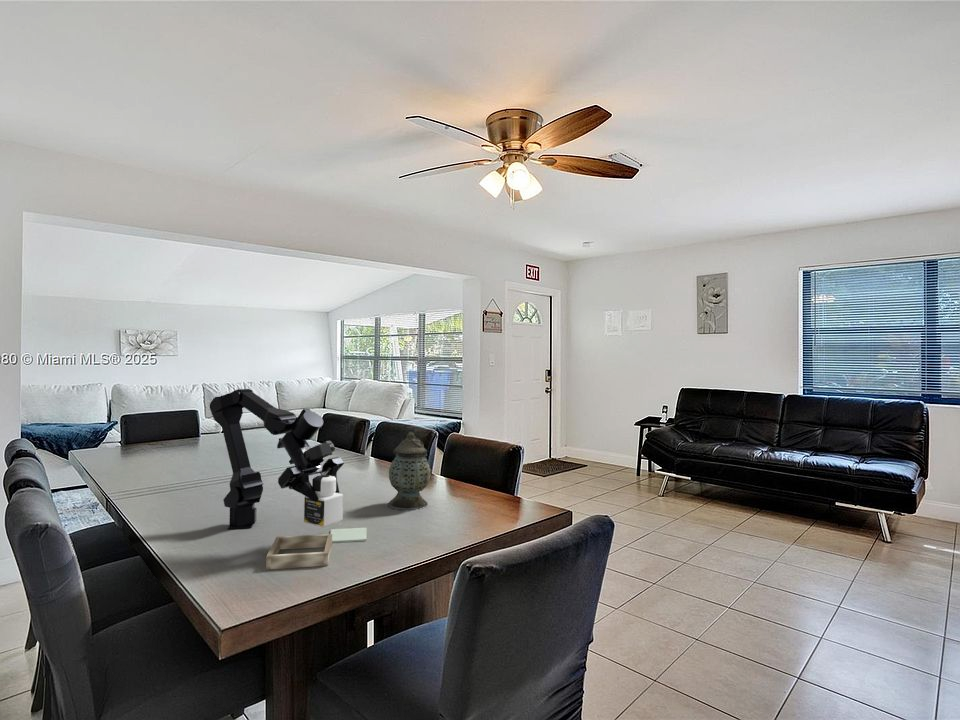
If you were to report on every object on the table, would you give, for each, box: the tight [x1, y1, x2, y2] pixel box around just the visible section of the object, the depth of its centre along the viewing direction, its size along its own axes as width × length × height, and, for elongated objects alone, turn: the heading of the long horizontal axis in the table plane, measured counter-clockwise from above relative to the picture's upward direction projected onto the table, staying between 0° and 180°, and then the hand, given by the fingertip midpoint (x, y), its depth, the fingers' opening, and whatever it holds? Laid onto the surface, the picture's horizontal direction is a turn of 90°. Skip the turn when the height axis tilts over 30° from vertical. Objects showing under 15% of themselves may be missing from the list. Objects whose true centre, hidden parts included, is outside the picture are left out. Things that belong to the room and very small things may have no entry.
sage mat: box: [329, 527, 368, 544], centre depth 149 cm, size 10×10×1 cm
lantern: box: [387, 431, 432, 511], centre depth 181 cm, size 14×14×25 cm
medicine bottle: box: [303, 474, 344, 528], centre depth 140 cm, size 7×7×12 cm
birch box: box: [265, 533, 333, 570], centre depth 133 cm, size 14×14×3 cm
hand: (327, 497), depth 139 cm, fingers closed on medicine bottle, 7 cm apart
